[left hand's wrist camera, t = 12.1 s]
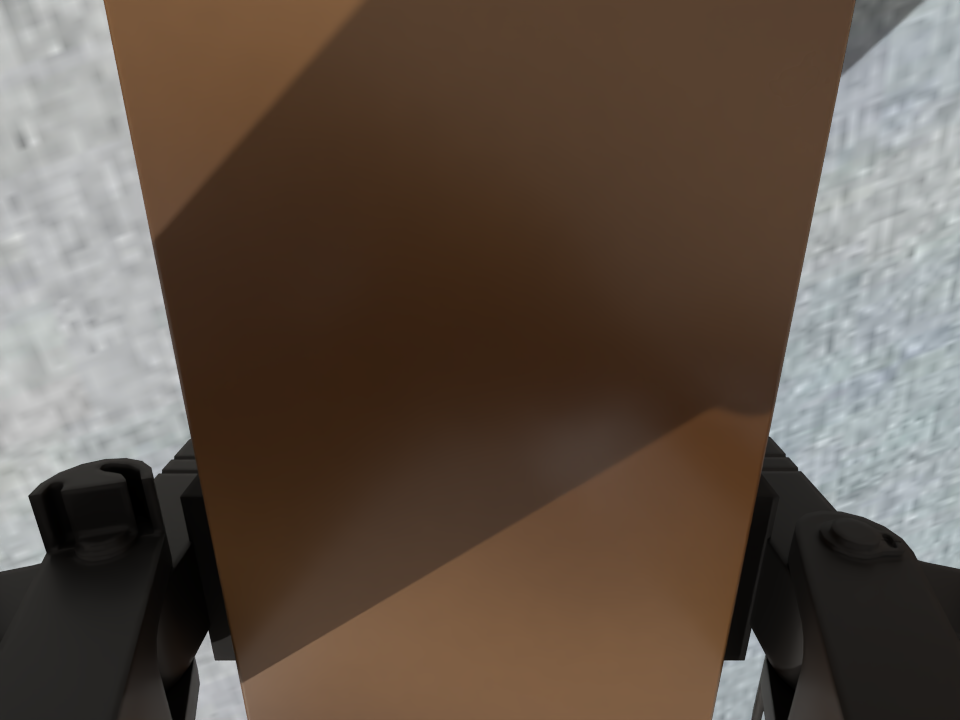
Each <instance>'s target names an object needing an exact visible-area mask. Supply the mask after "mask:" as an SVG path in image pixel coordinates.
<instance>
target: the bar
mask: <svg viewBox="0 0 960 720" xmlns="http://www.w3.org/2000/svg"><path fill="white" fill-rule="evenodd" d="M855 1H856V0H104V5H105V10H106V15H107V20H108V25H109V30H110V35H111V40H112V45H113V50H114V55H115V60H116V65H117V70H118V75H119V80H120V85H121V90H122V95H123V100H124V105H125V110H126V115H127V120H128V125H129V130H130V135H131V140H132V145H133V150H134V155H135V159H136V164H137V169H138V174H139V179H140V184H141V189H142V194H143V199H144V204H145V209H146V214H147V219H148V224H149V229H150V234H151V239H152V244H153V249H154V254H155V259H156V264H157V269H158V274H159V279H160V284H161V289H162V294H163V299H164V304H165V309H166V314H167V319H168V324H169V329H170V334H171V339H172V344H173V349H174V354H175V359H176V364H177V369H178V374H179V379H180V384H181V389H182V394H183V399H184V404H185V409H186V414H187V419H188V424H189V429H190V434H191V439H192V444H193V449H194V454H195V459H196V464H197V469H198V474H199V479H200V484H201V489H202V494H203V499H204V504H205V509H206V514H207V519H208V524H209V529H210V534H211V539H212V544H213V549H214V554H215V559H216V564H217V569H218V574H219V579H220V584H221V589H222V594H223V599H224V604H225V609H226V614H227V619H228V624H229V629H230V634H231V639H232V644H233V649H234V654H235V659H236V664H237V669H238V674H239V679H240V684H241V689H242V694H243V699H244V704H245V709H246V714H247V719H248V720H712V717H713V712H714V707H715V702H716V697H717V692H718V687H719V682H720V677H721V672H722V667H723V662H724V657H725V652H726V647H727V642H728V637H729V632H730V627H731V622H732V617H733V612H734V607H735V602H736V597H737V592H738V587H739V582H740V577H741V572H742V567H743V562H744V557H745V552H746V547H747V542H748V537H749V532H750V527H751V522H752V517H753V512H754V507H755V502H756V497H757V492H758V487H759V482H760V477H761V472H762V467H763V462H764V457H765V452H766V447H767V442H768V437H769V432H770V427H771V422H772V417H773V412H774V407H775V402H776V397H777V392H778V387H779V382H780V377H781V372H782V367H783V362H784V357H785V352H786V347H787V342H788V337H789V332H790V327H791V322H792V317H793V312H794V307H795V302H796V297H797V292H798V287H799V282H800V277H801V272H802V267H803V262H804V257H805V252H806V247H807V242H808V237H809V232H810V227H811V222H812V217H813V212H814V207H815V202H816V197H817V192H818V187H819V182H820V177H821V172H822V167H823V162H824V157H825V152H826V147H827V142H828V137H829V132H830V127H831V122H832V117H833V112H834V107H835V102H836V97H837V92H838V87H839V82H840V77H841V72H842V67H843V62H844V57H845V52H846V47H847V42H848V37H849V32H850V27H851V22H852V17H853V12H854V7H855Z"/></svg>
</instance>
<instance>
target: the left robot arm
mask: <svg viewBox="0 0 960 720" xmlns="http://www.w3.org/2000/svg"><path fill="white" fill-rule="evenodd" d="M28 497H29V500H30V503H31V506H32V509H33V512H34V515H35V518H36V521H37V525H38V528H39V531H40V534H41V537H42V540H43V543H44V546H45V549H46V552H47V553H46V555H45V557H44V559H43V561H42V563H40V564H37V565H32V566H27V567H22V568H17V569H12V570H7V571H2V572H0V720H195V716H196V709H197V701H198V693H199V686H200V681H199V674H198V668H197V664H196V660H195V655H196V653H197V651H198V649H199V647H200V645H201V643H202V641H203V640H204V638H205V636H206V634H207V632H208V630H209V635H210V639H211V644H212V649H213V653H214V658H215V660H236V659H235V654H234V649H233V644H232V639H231V634H230V629H229V624H228V619H227V614H226V609H225V604H224V599H223V594H222V589H221V584H220V579H219V574H218V569H217V564H216V559H215V554H214V549H213V544H212V539H211V534H210V529H209V524H208V519H207V514H206V509H205V504H204V499H203V494H202V489H201V484H200V479H199V474H198V469H197V464H196V459H195V454H194V449H193V444H192V439H190V440H188V442H187V443H186V444H185V445H184V446H183V447H182V448H181V449H180V451H179V452H178V453H177V454H176V455H175V456H174V460H171V461H170V462H169V463H168V464H167V465H166V466H165V467H164V468H163V470H162V474H158V475H157V476H156V477H155V479H154V477H153V473H152V469H151V467H150V466H148V465H147V464H145V463H144V462H143V461H139V460H134V459H128V458H119V459H104V460H99V461H95V462H90V463H85V464H81V465H79V466H76V467H73V468H71V469H68V470H65V471H63V472H60V473H58V474H56V475H55V476H53V477H51V478H49V479H48V480H46V481H44V482H43V483H41V484H40V485H39V486H38V487H37V488H36V489H35V490H34V491H33V492H32V493H31V494H30V495H29V496H28ZM751 628H752V630H753V631H754V633H755V635H756V637H757V639H758V641H759V643H760V645H761V647H762V648H763V650H764V652H765V654H766V655H765V660H764V664H763V668H762V673H761V677H760V681H759V686H758V690H757V694H756V699H755V703H754V707H753V713H752V720H761V718H762V714H763V711H764V715H765V720H960V569H957V568H952V567H947V566H942V565H937V564H932V563H927V562H923V561H919V560H917V558H916V556H915V554H914V552H913V551H912V550H911V549H910V547H909V546H908V545H907V544H906V543H905V541H904V540H903V539H902V538H901V537H899V536H898V535H896V534H895V533H893V532H892V531H890V530H889V529H887V528H886V527H884V526H882V525H880V524H878V523H875V522H873V521H871V520H869V519H866V518H864V517H861V516H857V515H853V514H849V513H845V512H839V511H836V510H835V508H834V507H833V506H832V505H831V504H830V503H829V502H828V501H827V500H826V498H825V497H824V496H823V495H822V494H821V493H820V492H819V491H818V490H817V488H816V487H815V486H814V485H813V484H812V483H811V482H810V481H809V480H808V478H807V477H806V476H805V475H804V474H803V473H802V472H801V471H798V467H797V466H796V465H795V464H794V463H793V462H792V461H791V459H790V458H789V457H786V454H785V453H784V452H783V451H782V449H781V448H780V447H779V446H778V445H777V444H776V443H775V442H774V441H773V439H772V438H771V437H768V442H767V447H766V452H765V457H764V462H763V467H762V472H761V477H760V482H759V487H758V492H757V497H756V502H755V507H754V512H753V517H752V522H751V527H750V532H749V537H748V542H747V547H746V552H745V557H744V562H743V567H742V572H741V577H740V582H739V587H738V592H737V597H736V602H735V607H734V612H733V617H732V622H731V627H730V632H729V637H728V642H727V647H726V652H725V657H724V660H745V656H746V651H747V647H748V642H749V637H750V633H751Z"/></svg>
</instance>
